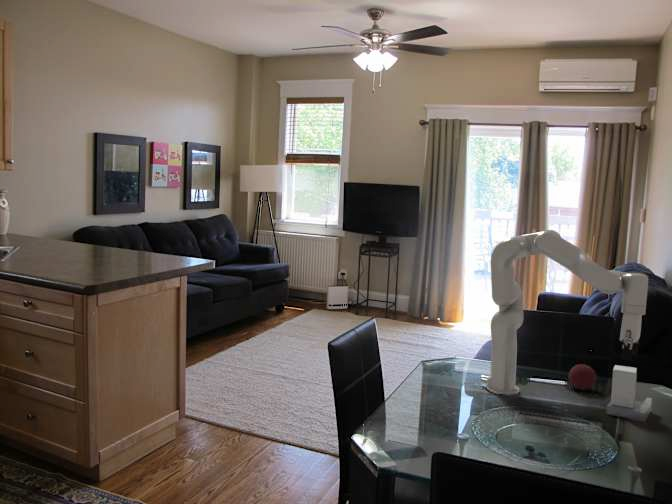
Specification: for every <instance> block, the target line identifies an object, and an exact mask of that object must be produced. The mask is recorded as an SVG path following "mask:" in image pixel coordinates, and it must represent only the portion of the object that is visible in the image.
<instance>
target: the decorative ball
mask: <svg viewBox="0 0 672 504" xmlns="http://www.w3.org/2000/svg"><path fill="white" fill-rule="evenodd" d="M568 380H569V383H570V384H571V385H572V387H573V388H575V389H576V390H580V391H587V390H590V389H592V388H593V387H594V386H595V384H596V382H597V374H596V372H595V370H594V369H593V368H592V367H591V366H590V365H587V364H583V363H581V364H575V365H574V366H573V367H571V369H570V370H569V372H568Z"/></svg>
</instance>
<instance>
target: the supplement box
mask: <svg viewBox="0 0 672 504" xmlns="http://www.w3.org/2000/svg"><path fill="white" fill-rule="evenodd" d="M637 372H638V368H637V367H632V366H625V365H617V364H615V365H614V366H613V369H612V381H611V396H610V397H611V398H610V401H611V404H612V405H618V406H623V407H629V408H633V407H634V402H635V401H636V389H637V388H636V385H637V377H638V376H637V374H638V373H637Z"/></svg>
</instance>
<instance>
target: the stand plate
mask: <svg viewBox="0 0 672 504" xmlns="http://www.w3.org/2000/svg"><path fill="white" fill-rule="evenodd" d="M605 412H606V413H605V414H606V415H610V416H613V417H614V416H615V417H617V418H618V417H619V418H624V419H628V420H633V421H637V422H642V423H645V422H646V421H647V419H648V417H649V416H650V414H651V413H650V412H652V398H651V397H646V398H645V400H644V401H639V400H635V402H634V407H633V408H629V407H623V406H618V405H612V404H611V400H610V401H609V403H607V404H606V411H605Z"/></svg>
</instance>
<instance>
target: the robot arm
mask: <svg viewBox="0 0 672 504" xmlns="http://www.w3.org/2000/svg"><path fill="white" fill-rule="evenodd" d="M541 254H542V255H543V256H545V257H547V258H549V259H550V260H552V261H554V262H555V263H557V264H559V265H560V266H562V267H563V268H565V269H566V270H569V272H571V273H572V274H573V275H575V276H577V278H579V279H581V280H582V281H583V282H585V284H587V285H589V286H591V287H593V288H594V289H596V290H597V291H599V292H601V293H603V294H606V295H613V294H616V293H618V292H620V291H621V292H622V295H621V296H622V297H621V298H622V299H621V309H620V312H621V313H623V315H622V320H621V327H620V335H619V341H620V342H623V343H622V347H621V358H620V359H621V360H623V361H626V362H627V361H628V362H632V359H633V356H637V355H638V353H639V352H638V351H639V340H640V337H641V332H642V331H641V330H642V316H644V315H646V309H647V299H648V291H649V290H648V289H649V276H648V275H647V274H644V273H639V272H625V271H620V270H614V269H610V270H609V269H606V268H604V267H603V266H602V265H599V264H598V263H596V262H595V261H594V260H592V259H591V258H590V257H589V256H588V255H587V253H586V252H585V251H584V250H583V249H582V248H581V247H578V246H577V245H575V244H574V243H571V242H570V241H567V240H566V239H564V238H563V237H562V236H561V234H560V233H559V232H557V231H555V230H552V229H546V230H542V231H538V232H533V233H528V234H522V235H517V236H515V235H514V236H510V237H507V238H506V239H504V240H502V241H501V242H499V243H498V244H496V245H495V247H494V248H493V250H492V252H491V256H490V276H491V277H490V279H491V298H492V300H493V302H494V304H495V305H496V306H498V311H497V312H496V313H495V314H494V315H493V316H492V318H491V322H490V336H491V338H490V339H491V340H490V341H491V344H490V345H491V349H490V351H491V352H490V374H489V376H488V375H483V374H481V375H480V381H481V382H483V383H486V385H485V389H486V388H487V389H488V390H490V391H492V392H495V393H499V394H505V395H504V396H514V395H518V394H519V393H520V387H518V386H517V385H516V382H517V381H516V378H517V375H516V374H517V356H518V355H517V354H518V339H517V330H518V329H520V327H521V326H522V325H523V323H524V318H525V317H524V302H523V301H524V298H523V289H522V287H521V285H520V283H518V282H517V281H516V280H515V269H514V262H515V260H518V259H521V258H525V257H530V256H531V257H532V256H537V255H541ZM499 394H498V395H499Z"/></svg>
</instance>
